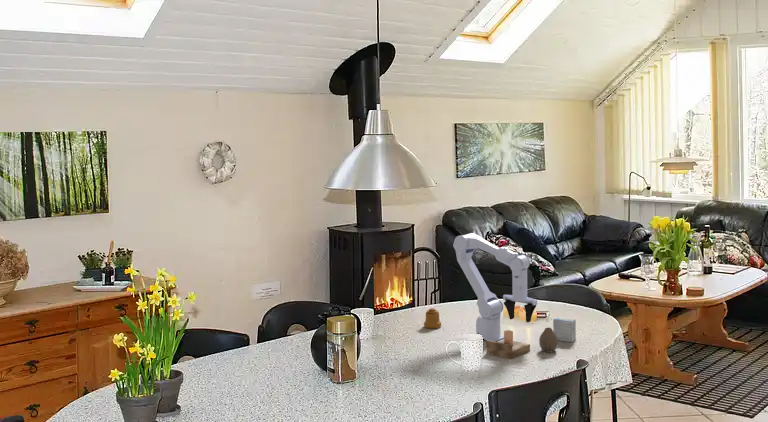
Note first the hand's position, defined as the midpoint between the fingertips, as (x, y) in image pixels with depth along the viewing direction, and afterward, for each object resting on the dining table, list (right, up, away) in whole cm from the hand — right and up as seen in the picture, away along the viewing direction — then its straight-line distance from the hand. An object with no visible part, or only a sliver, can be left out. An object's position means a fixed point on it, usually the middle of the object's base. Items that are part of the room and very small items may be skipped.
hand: (520, 320), depth 308 cm
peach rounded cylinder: (-6, -8, -9) cm, 14 cm away
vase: (+9, -11, -9) cm, 17 cm away
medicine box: (+19, -9, +5) cm, 21 cm away
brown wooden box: (-6, -11, -9) cm, 15 cm away
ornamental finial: (-33, -7, +29) cm, 44 cm away
